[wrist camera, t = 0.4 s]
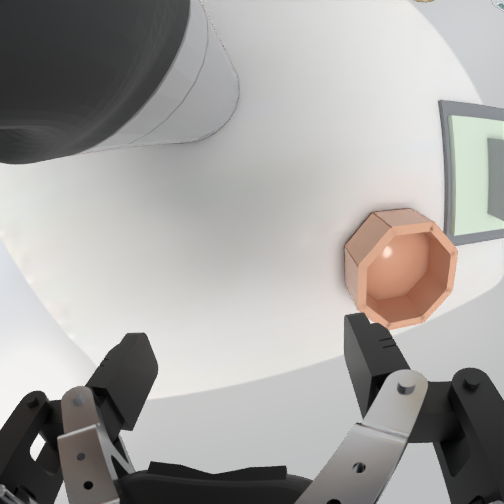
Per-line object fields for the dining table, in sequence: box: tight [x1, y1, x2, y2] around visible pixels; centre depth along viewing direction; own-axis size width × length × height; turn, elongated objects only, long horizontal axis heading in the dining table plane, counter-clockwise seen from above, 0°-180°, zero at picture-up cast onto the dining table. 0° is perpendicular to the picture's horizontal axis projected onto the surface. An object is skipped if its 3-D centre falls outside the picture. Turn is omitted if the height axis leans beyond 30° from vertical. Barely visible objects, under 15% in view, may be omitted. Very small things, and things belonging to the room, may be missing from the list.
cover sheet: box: [447, 115, 504, 236], centre depth 21 cm, size 12×12×4 cm
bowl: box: [344, 208, 458, 330], centre depth 25 cm, size 10×10×5 cm
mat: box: [439, 100, 504, 246], centre depth 23 cm, size 15×13×1 cm
